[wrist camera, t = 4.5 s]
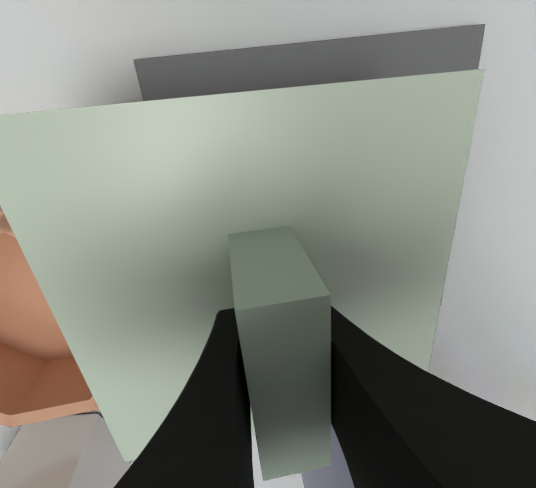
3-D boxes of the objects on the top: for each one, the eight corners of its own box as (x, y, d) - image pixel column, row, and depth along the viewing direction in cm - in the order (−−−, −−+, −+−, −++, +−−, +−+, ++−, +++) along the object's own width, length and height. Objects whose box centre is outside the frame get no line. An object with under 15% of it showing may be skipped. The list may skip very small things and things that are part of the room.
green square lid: (469, 70, 9) (669, 44, 5) (415, 389, 15) (488, 494, 11) (-25, 118, 8) (-285, 133, 4) (128, 447, 14) (90, 593, 10)
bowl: (124, 175, 16) (92, 198, 12) (174, 339, 20) (163, 396, 16) (-108, 207, 15) (-231, 244, 11) (-1, 371, 19) (-58, 441, 15)
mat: (477, 26, 16) (485, 23, 15) (436, 301, 23) (440, 305, 22) (136, 61, 14) (133, 59, 14) (206, 345, 21) (206, 350, 21)
